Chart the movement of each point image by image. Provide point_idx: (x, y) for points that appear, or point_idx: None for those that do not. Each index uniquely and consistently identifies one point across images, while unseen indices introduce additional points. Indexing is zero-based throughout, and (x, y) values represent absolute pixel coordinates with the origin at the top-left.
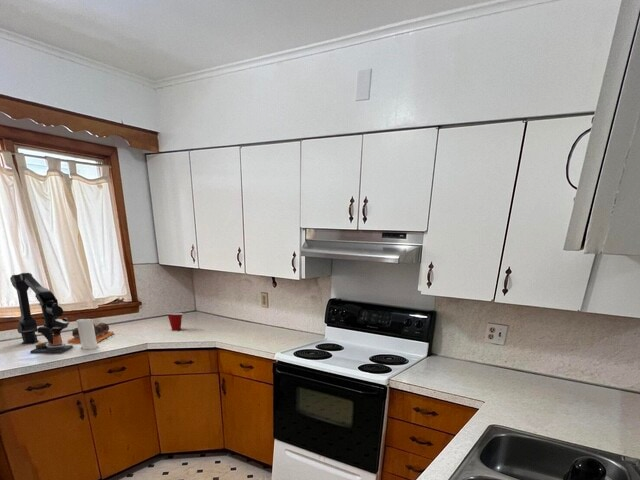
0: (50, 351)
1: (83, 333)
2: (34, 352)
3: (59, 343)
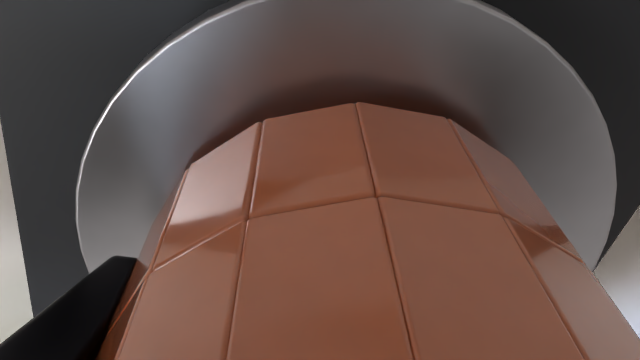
0: (624, 221)
1: None
2: None
3: (497, 159)
